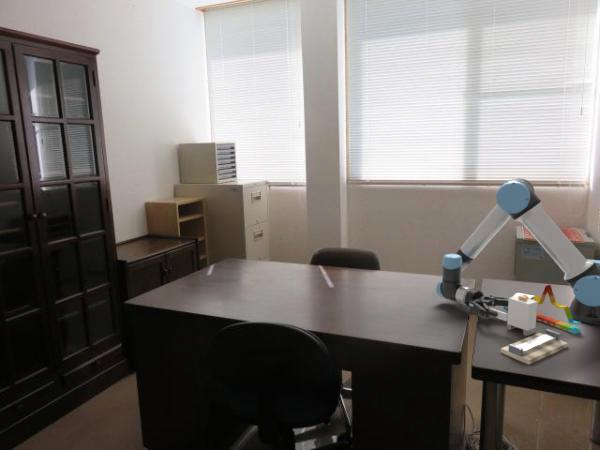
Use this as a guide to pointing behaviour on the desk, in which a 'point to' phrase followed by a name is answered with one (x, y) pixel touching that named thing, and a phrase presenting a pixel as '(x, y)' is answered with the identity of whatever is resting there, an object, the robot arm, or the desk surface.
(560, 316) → the desk surface
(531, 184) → the robot arm
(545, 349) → the rail board
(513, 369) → the desk surface
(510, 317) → the breaker module
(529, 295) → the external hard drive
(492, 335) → the desk surface
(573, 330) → the chart
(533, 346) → the steel rail
